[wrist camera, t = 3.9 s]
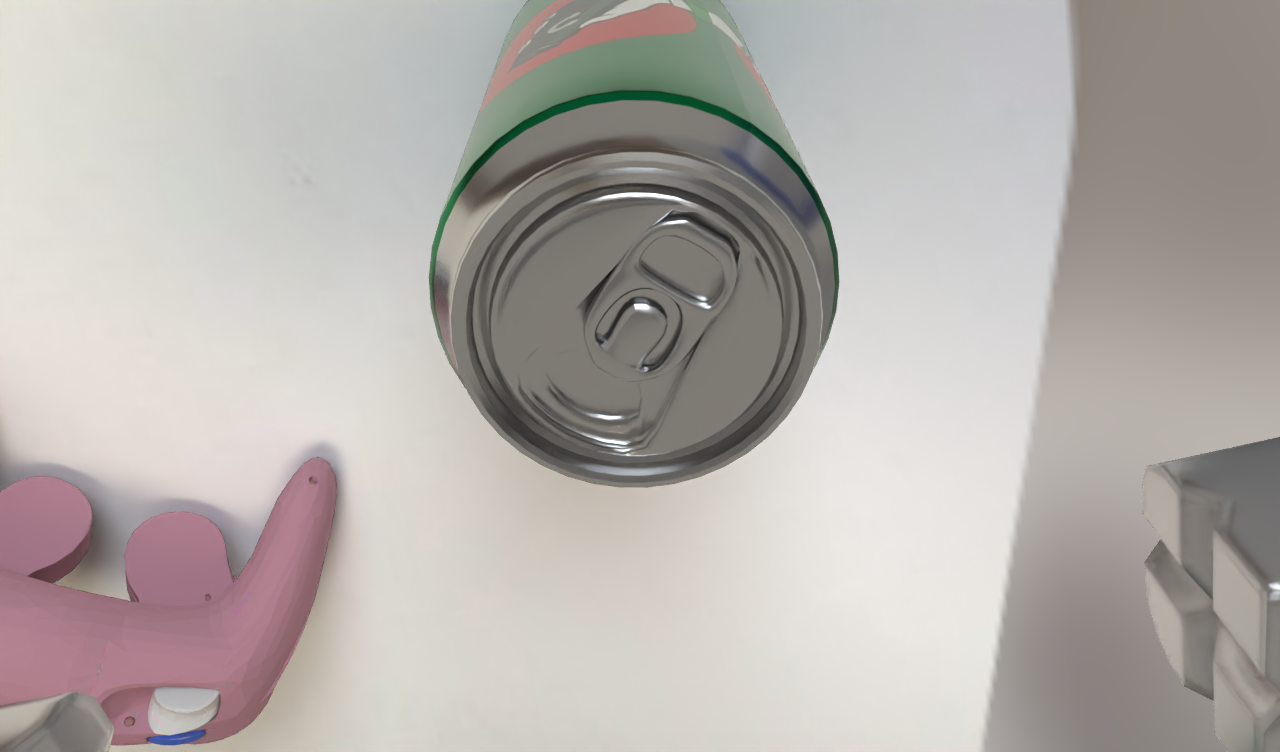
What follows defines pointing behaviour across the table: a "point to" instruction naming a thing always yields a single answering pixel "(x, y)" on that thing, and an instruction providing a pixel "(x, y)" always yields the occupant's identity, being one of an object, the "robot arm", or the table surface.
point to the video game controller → (158, 610)
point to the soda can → (632, 246)
